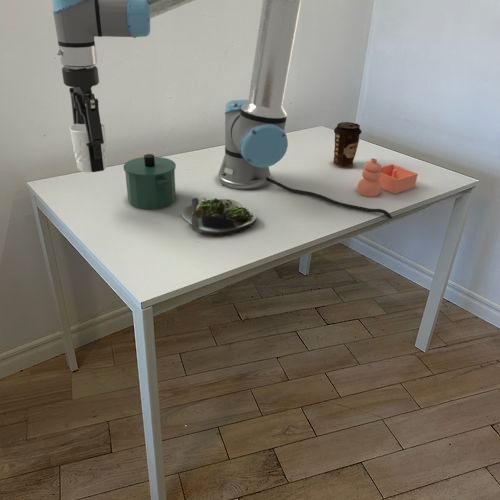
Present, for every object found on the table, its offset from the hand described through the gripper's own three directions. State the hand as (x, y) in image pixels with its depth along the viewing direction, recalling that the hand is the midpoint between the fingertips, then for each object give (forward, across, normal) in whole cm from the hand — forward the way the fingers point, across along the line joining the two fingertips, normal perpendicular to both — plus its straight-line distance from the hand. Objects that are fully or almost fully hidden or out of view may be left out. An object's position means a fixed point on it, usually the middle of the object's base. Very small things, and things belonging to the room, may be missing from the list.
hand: (92, 165), depth 121 cm
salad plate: (+12, +20, +24) cm, 33 cm away
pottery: (+12, +24, +76) cm, 81 cm away
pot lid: (+3, 0, +15) cm, 15 cm away
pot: (+12, 0, +15) cm, 19 cm away
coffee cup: (+12, +4, +79) cm, 80 cm away
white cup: (+1, 0, 0) cm, 1 cm away
